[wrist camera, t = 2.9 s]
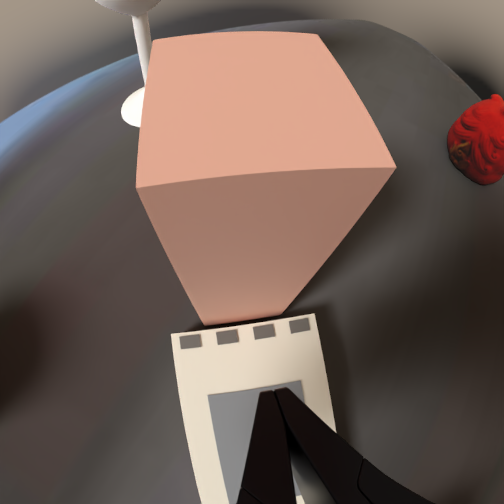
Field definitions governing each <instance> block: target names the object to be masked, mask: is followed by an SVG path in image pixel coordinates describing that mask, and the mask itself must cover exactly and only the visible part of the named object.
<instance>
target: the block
mask: <svg viewBox="0 0 504 504" xmlns="http://www.w3.org/2000/svg"><path fill="white" fill-rule="evenodd" d="M396 168H397V167H396V165H395V163H394V161H393V159H392V157H391V155H390V153H389V151H388V149H387V147H386V145H385V143H384V141H383V139H382V137H381V135H380V133H379V131H378V129H377V128H376V126H375V124H374V122H373V120H372V118H371V117H370V115H369V113H368V111H367V110H366V108H365V106H364V104H363V103H362V101H361V99H360V98H359V96H358V94H357V93H356V91H355V89H354V88H353V86H352V85H351V83H350V81H349V80H348V78H347V77H346V75H345V74H344V72H343V71H342V69H341V68H340V66H339V65H338V63H337V62H336V60H335V59H334V57H333V56H332V54H331V53H330V51H329V50H328V49H327V47H326V46H325V44H324V43H323V42H322V40H321V39H320V38H319V36H318V35H317V34H308V33H293V32H266V31H248V32H220V33H206V34H196V35H186V36H179V37H170V38H163V39H157V40H153V44H152V49H151V55H150V60H149V66H148V72H147V78H146V85H145V92H144V100H143V108H142V116H141V125H140V135H139V147H138V160H137V176H136V190H137V192H138V194H139V196H140V199H141V201H142V203H143V205H144V207H145V210H146V212H147V214H148V216H149V218H150V220H151V223H152V225H153V227H154V229H155V231H156V233H157V235H158V237H159V239H160V241H161V244H162V246H163V248H164V250H165V252H166V254H167V256H168V258H169V260H170V262H171V264H172V266H173V268H174V270H175V272H176V274H177V276H178V277H179V279H180V281H181V283H182V285H183V287H184V289H185V291H186V293H187V295H188V297H189V298H190V300H191V302H192V304H193V306H194V308H195V310H196V311H197V313H198V315H199V317H200V319H201V321H202V322H203V324H204V326H209V325H217V324H224V323H232V322H239V321H246V320H253V319H259V318H266V317H272V316H278V315H281V314H282V313H283V311H284V310H285V309H286V308H287V307H288V306H289V304H290V303H291V302H292V301H293V300H294V299H295V297H296V296H297V295H298V294H299V293H300V291H301V290H302V289H303V288H304V287H305V285H306V284H307V283H308V282H309V281H310V279H311V278H312V277H313V276H314V275H315V273H316V272H317V271H318V270H319V268H320V267H321V266H322V265H323V264H324V262H325V261H326V260H327V259H328V257H329V256H330V255H331V254H332V252H333V251H334V250H335V249H336V247H337V246H338V245H339V244H340V242H341V241H342V240H343V238H344V237H345V236H346V235H347V233H348V232H349V231H350V230H351V228H352V227H353V226H354V224H355V223H356V222H357V220H358V219H359V218H360V216H361V215H362V214H363V213H364V211H365V210H366V209H367V207H368V206H369V205H370V203H371V202H372V201H373V199H374V198H375V197H376V195H377V194H378V192H379V191H380V190H381V188H382V187H383V186H384V184H385V183H386V182H387V180H388V179H389V177H390V176H391V175H392V173H393V172H394V170H395V169H396Z"/></svg>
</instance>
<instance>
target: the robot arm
mask: <svg viewBox="0 0 504 504" xmlns="http://www.w3.org/2000/svg"><path fill="white" fill-rule="evenodd" d="M293 476H294V478H295V481H296V483H297V486H298V488H299V490H300V493H301V495H302V498H303V500H304V502H305V504H435V503H433V502H431V501H429V500H427V499H425V498H423V497H421V496H420V495H418V494H416V493H414V492H412V491H411V490H409V489H407V488H406V487H404V486H402V485H400V484H399V483H397V482H396V481H394V480H393V479H391V478H390V477H388V476H387V475H385V474H384V473H383V472H381V471H380V470H379V469H377V468H376V467H375V466H374V465H372V464H371V463H370V462H369V461H368V460H367V459H365V458H364V459H363V456H362V455H361V454H359V453H358V452H357V451H356V450H355V449H354V448H353V447H351V446H350V445H349V444H348V443H347V442H346V441H345V440H344V439H342V438H341V437H340V436H339V435H338V434H337V433H336V432H335V431H334V430H332V429H331V428H330V427H329V426H328V425H327V424H326V423H325V422H324V421H323V420H322V419H321V418H319V417H318V416H317V415H316V414H315V413H314V412H313V411H312V410H311V409H310V408H309V407H308V406H307V405H306V404H305V403H304V402H303V401H301V400H300V399H299V398H298V397H297V396H296V395H295V394H294V393H293V392H292V391H291V390H290V389H289V388H288V387H282V388H277V389H275V390H274V391H273V390H266V391H261V392H260V393H259V397H258V402H257V407H256V412H255V418H254V423H253V428H252V433H251V438H250V443H249V448H248V453H247V458H246V462H245V467H244V472H243V477H242V481H241V486H240V487H241V488H240V490H239V494H238V499H237V503H236V504H297V500H296V493H295V486H294V480H293Z"/></svg>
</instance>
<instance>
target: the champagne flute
mask: <svg viewBox="0 0 504 504" xmlns="http://www.w3.org/2000/svg"><path fill="white" fill-rule="evenodd" d="M95 1H96V2H97V3H99V4H101V5H102V6H104V7H106V8H109V9H111V10H114V11H116V12H119V13H121V14H125V15H131V16H132V20H133V26H134V31H135V37H136V43H137V48H138V53H139V58H140V63H141V68H142V73H143V78H144V82H145V85H146V78H147V72H148V66H149V60H150V55H151V49H152V43H151V36H150V29H149V22H148V15H147V12H148V11H149V10H150V9H152V8H153V7H155V6H156V4H158V3H159V2H160V1H161V0H95ZM144 92H145V87H143V88H141V89H139V90H137V91H136V92H134V93H133V94H131V95H130V96H129V97H128V98H127V99H126V101H125V102H124V104H123V106H122V109H121V114H122V117H123V119H124V121H126V122H127V123H128V124H130V125H133V126H137V127H140V125H141V116H142V108H143V100H144Z"/></svg>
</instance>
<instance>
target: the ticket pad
mask: <svg viewBox="0 0 504 504" xmlns="http://www.w3.org/2000/svg"><path fill="white" fill-rule="evenodd" d="M171 338H172V346H173V354H174V362H175V369H176V376H177V383H178V390H179V396H180V402H181V408H182V414H183V420H184V425H185V431H186V436H187V441H188V446H189V451H190V456H191V460H192V465H193V469H194V474H195V478H196V482H197V487H198V491H199V495H200V499H201V503H202V504H236V503H237V499H238V494H239V490H240V488H241V487H240V486H241V481H242V477H243V472H244V467H245V462H246V458H247V453H248V448H249V443H250V438H251V433H252V428H253V423H254V418H255V412H256V407H257V402H258V397H259V393H260V392H261V391H266V390H273V391H274V390H275V389H277V388H282V387H288V388H289V389H290V390H291V391H292V392H293V393H294V394H295V395H296V396H297V397H298V398H299V399H300V400H301V401H303V402H304V403H305V404H306V405H307V406H308V407H309V408H310V409H311V410H312V411H313V412H314V413H315V414H316V415H317V416H318V417H319V418H321V419H322V420H323V421H324V422H325V423H326V424H327V425H328V426H329V427H330V428H331V429H332V430H334V431H335V432H336V428H335V422H334V415H333V409H332V403H331V398H330V392H329V386H328V381H327V375H326V370H325V364H324V359H323V354H322V349H321V344H320V339H319V334H318V329H317V324H316V319H315V314H314V313H313V314H308V315H302V316H297V317H291V318H289V317H287V318H281V319H275V320H269V321H267V322H260V323H254V324H247V325H240V326H233V327H226V328H213V329H205V330H197V331H194V332H185V333H176V334H171ZM293 480H294V486H295V493H296V500H297V504H305V502H304V500H303V498H302V495H301V493H300V490H299V488H298V486H297V483H296V481H295V478H294V476H293Z"/></svg>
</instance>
